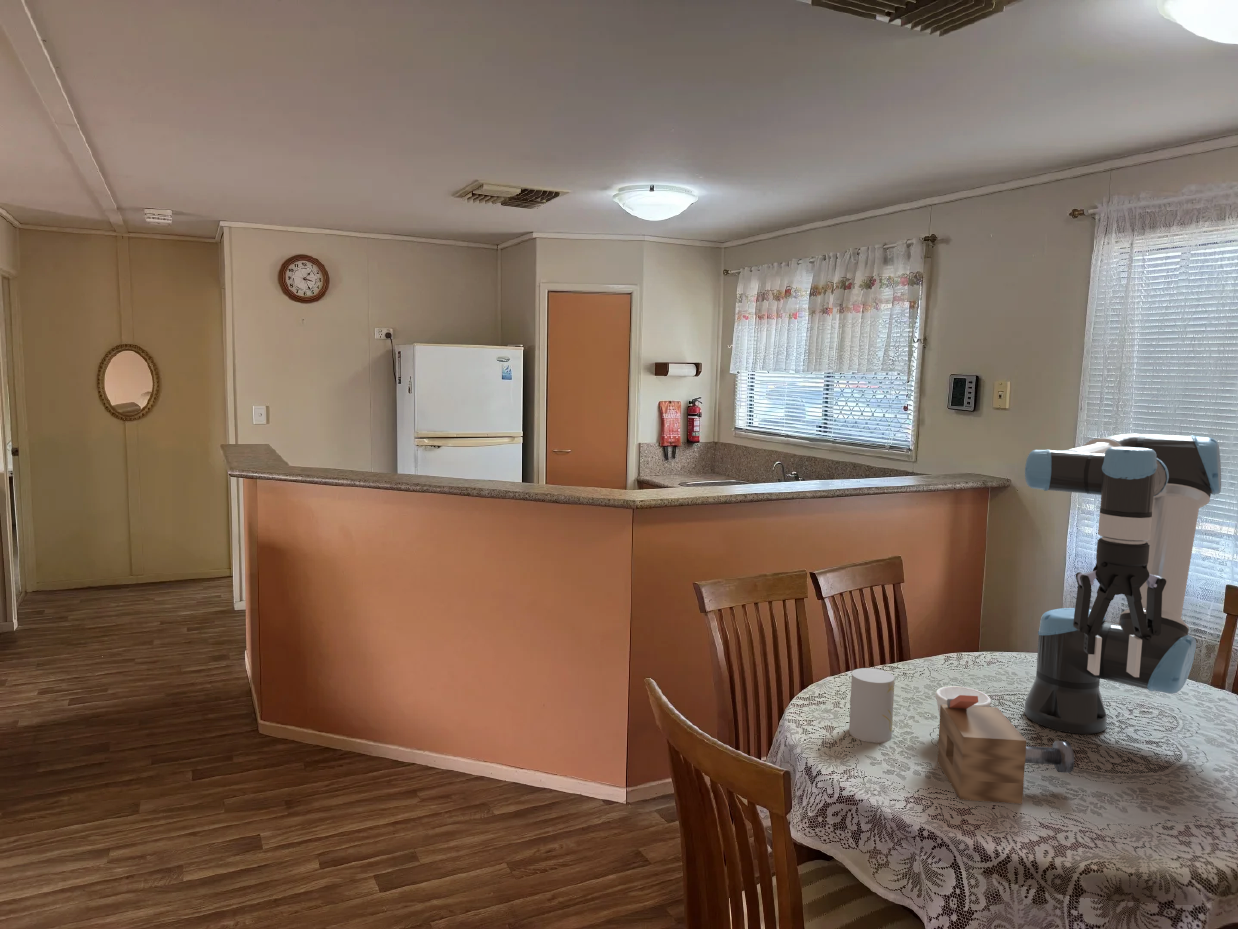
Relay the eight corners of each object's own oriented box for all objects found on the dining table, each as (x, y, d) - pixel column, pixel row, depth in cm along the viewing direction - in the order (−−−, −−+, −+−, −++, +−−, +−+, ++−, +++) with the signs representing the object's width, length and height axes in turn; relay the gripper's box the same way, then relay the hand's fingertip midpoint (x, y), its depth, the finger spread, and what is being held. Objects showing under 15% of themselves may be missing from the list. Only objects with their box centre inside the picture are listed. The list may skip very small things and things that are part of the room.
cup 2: (963, 756, 156) (966, 708, 155) (922, 735, 165) (924, 690, 164) (999, 746, 161) (1002, 700, 160) (957, 726, 169) (960, 682, 168)
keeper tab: (965, 709, 151) (964, 700, 152) (978, 702, 144) (977, 692, 145) (947, 708, 151) (946, 699, 152) (959, 701, 144) (958, 691, 145)
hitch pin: (1060, 764, 147) (1062, 736, 146) (1073, 778, 142) (1075, 749, 141) (974, 759, 148) (976, 731, 148) (984, 773, 143) (985, 744, 143)
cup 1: (894, 744, 161) (897, 684, 160) (850, 740, 162) (853, 680, 161) (889, 727, 169) (892, 670, 167) (847, 723, 170) (850, 666, 169)
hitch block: (993, 765, 153) (997, 707, 151) (1022, 804, 139) (1026, 740, 138) (937, 762, 154) (940, 704, 152) (959, 799, 140) (963, 737, 139)
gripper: (1170, 537, 142) (1159, 668, 145) (1055, 533, 144) (1046, 663, 146) (1195, 545, 135) (1183, 684, 137) (1074, 541, 137) (1064, 678, 139)
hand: (1112, 673), depth 142 cm, fingers open, 6 cm apart
